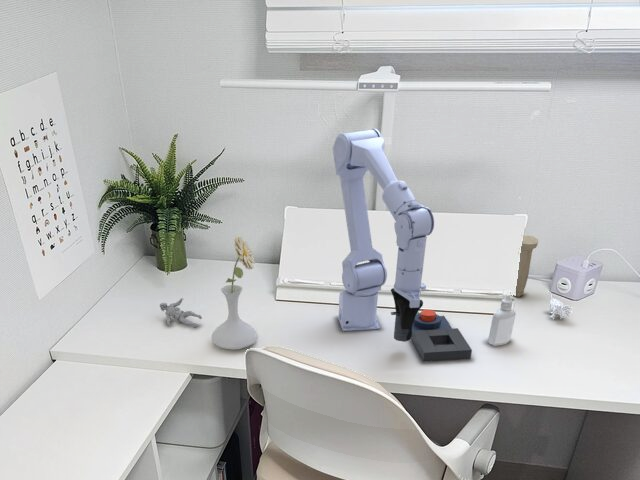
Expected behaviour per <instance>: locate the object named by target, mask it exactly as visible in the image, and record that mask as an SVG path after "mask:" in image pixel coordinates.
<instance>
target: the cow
mask: <svg viewBox="0 0 640 480" xmlns="http://www.w3.org/2000/svg"><path fill="white" fill-rule="evenodd" d="M549 293H550V297H551V299H550V300H549V307H550V308H549V311H548V314H551V315H550V316H549V318H552V320H555V319H556V318H555V317H556V315H559V316H560V317H559V320H562V318H566V317H571V315H570V314H571V313H572V311H570V310H572V309H573V306H572V304H571V303H570V304H564V303H563V302H562V301H560V300H559V299H557V298H553V294H552V291H551V290H550V291H549Z"/></svg>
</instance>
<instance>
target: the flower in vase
mask: <svg viewBox="0 0 640 480" xmlns="http://www.w3.org/2000/svg"><path fill="white" fill-rule="evenodd" d="M234 249H235V252H236V255H237V259H236V261H235V264H234V266H233V272H232V278H229V277H228V278H227V280H225V283H231V284H227V285H224V286H222V287H221V288H220V292H221V293H222V294H223V295H224V297H225V299H226V302H227V309H228V316H227V319H226V320H225V321H224V322H222V323H221V324H219V326H217V327H216V328H215V329H214V330H213V332H212V333H211V334H212V335H211V337H210V338H211V341H212V343H213V344H214V345H215V346H216V347H218V348H221V349H226V350H240V349H242V350H243V349H246V348H248V347H251V346H253V345H254V344H255V343H256V342H257V340H258V339H259V333H258V332H257V330H256V329H255V327H253V326H252V325H251V324H249V323H248V322H246V321H245V320H243V319H241V317H240V316H239V306H238V305H239V297H240V295H241V293H242V291H243V287H242V286H240V285H237V284H234V282H236V281H237V279H242V278H243V276H244V271H243V269H242V268H241V267H239V266H237V265H238V263H239V262H240V263H241V264H242V266H244V268H245V269H246V270H253V269H255V267H254V265H256V261H255V258H254V256H253V255H254V252H253V250H251V249H250V246H249V245H248V242H247V241H246V240H243V238H242V236H241V235H238V236H234ZM253 264H254V265H253ZM235 277H237V279H235Z"/></svg>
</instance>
